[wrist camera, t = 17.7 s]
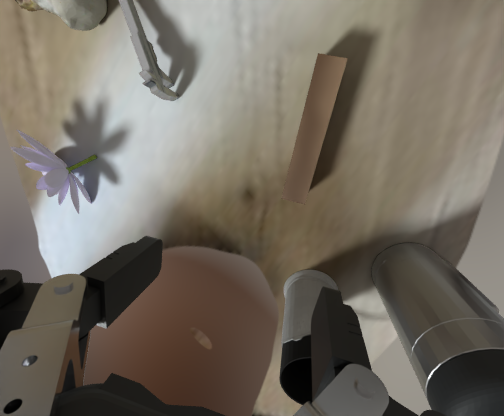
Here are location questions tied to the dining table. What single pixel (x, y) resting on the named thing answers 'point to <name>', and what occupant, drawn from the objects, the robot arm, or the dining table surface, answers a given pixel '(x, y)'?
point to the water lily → (53, 171)
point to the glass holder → (300, 332)
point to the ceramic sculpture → (71, 11)
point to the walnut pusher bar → (313, 126)
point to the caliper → (147, 55)
